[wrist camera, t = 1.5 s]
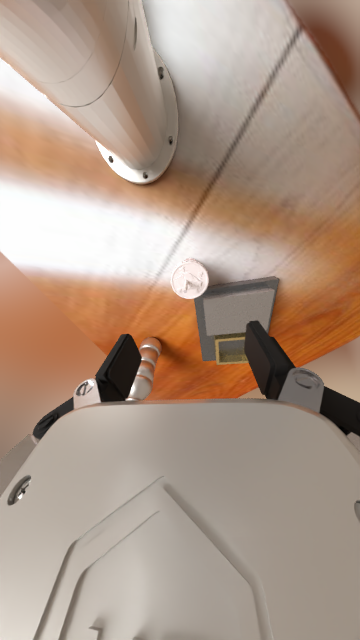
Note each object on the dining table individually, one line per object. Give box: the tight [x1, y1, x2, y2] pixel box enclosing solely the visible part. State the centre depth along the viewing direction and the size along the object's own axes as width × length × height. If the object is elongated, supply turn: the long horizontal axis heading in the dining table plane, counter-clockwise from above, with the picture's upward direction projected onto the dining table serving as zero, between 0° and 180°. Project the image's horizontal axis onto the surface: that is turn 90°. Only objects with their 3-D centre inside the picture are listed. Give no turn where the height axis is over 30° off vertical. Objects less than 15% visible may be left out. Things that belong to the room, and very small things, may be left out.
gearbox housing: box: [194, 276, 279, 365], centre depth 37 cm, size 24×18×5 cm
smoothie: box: [171, 258, 209, 299], centre depth 26 cm, size 6×6×14 cm
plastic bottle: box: [125, 337, 162, 401], centre depth 37 cm, size 6×7×20 cm
